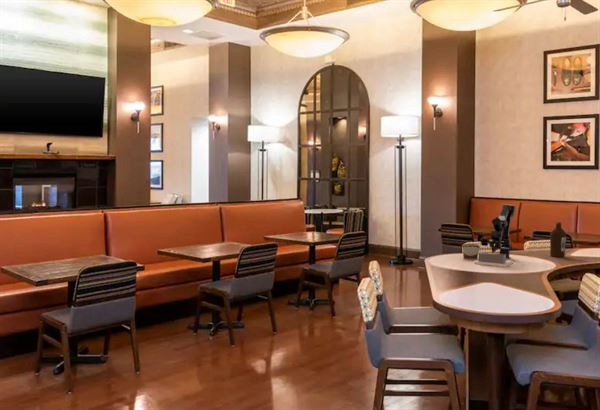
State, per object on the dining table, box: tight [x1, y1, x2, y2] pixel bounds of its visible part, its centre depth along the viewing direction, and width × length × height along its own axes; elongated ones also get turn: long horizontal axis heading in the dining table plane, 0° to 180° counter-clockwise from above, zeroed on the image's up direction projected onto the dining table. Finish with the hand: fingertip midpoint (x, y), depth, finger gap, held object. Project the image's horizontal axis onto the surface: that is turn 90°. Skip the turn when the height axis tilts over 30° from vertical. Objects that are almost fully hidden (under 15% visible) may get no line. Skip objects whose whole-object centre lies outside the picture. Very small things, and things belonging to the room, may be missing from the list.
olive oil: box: [549, 221, 567, 258], centre depth 406 cm, size 11×11×25 cm
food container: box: [461, 243, 481, 260], centre depth 393 cm, size 12×6×10 cm, turn 84°
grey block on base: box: [474, 251, 514, 268], centre depth 373 cm, size 18×20×7 cm
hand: (492, 252), depth 370 cm, fingers closed
